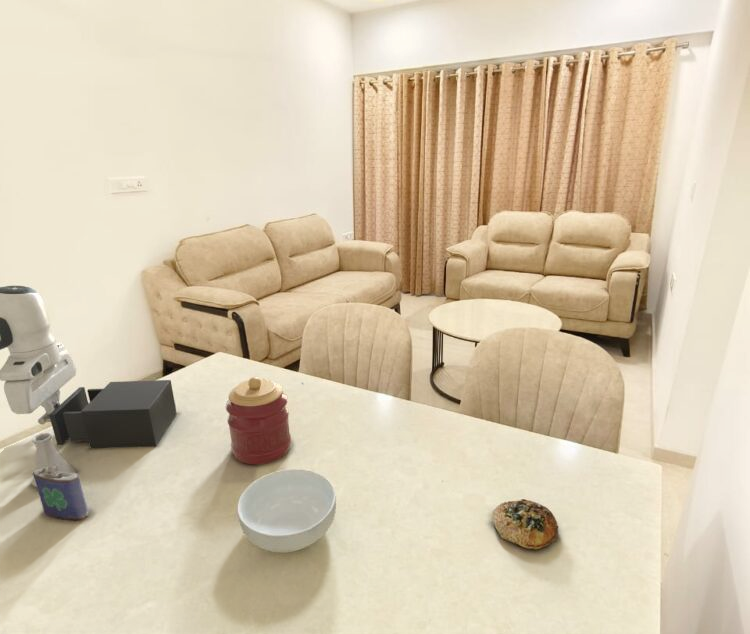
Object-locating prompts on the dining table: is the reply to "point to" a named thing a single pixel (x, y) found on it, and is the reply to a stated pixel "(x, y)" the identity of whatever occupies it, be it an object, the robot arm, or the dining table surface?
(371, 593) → the dining table surface
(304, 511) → the cereal bowl
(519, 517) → the bread roll
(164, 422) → the dark grey box
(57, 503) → the flask
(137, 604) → the dining table surface
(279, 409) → the kitchen canister
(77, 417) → the open drawer
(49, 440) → the flask
